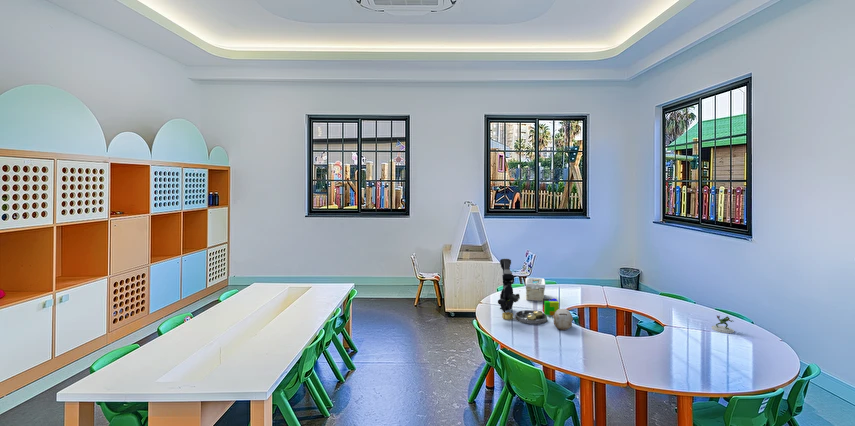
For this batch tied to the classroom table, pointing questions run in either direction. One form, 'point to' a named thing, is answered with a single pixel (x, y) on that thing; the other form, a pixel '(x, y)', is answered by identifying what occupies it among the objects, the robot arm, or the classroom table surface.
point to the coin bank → (563, 319)
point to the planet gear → (507, 315)
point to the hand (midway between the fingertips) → (507, 310)
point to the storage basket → (535, 289)
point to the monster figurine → (723, 328)
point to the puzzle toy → (550, 306)
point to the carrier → (530, 317)
